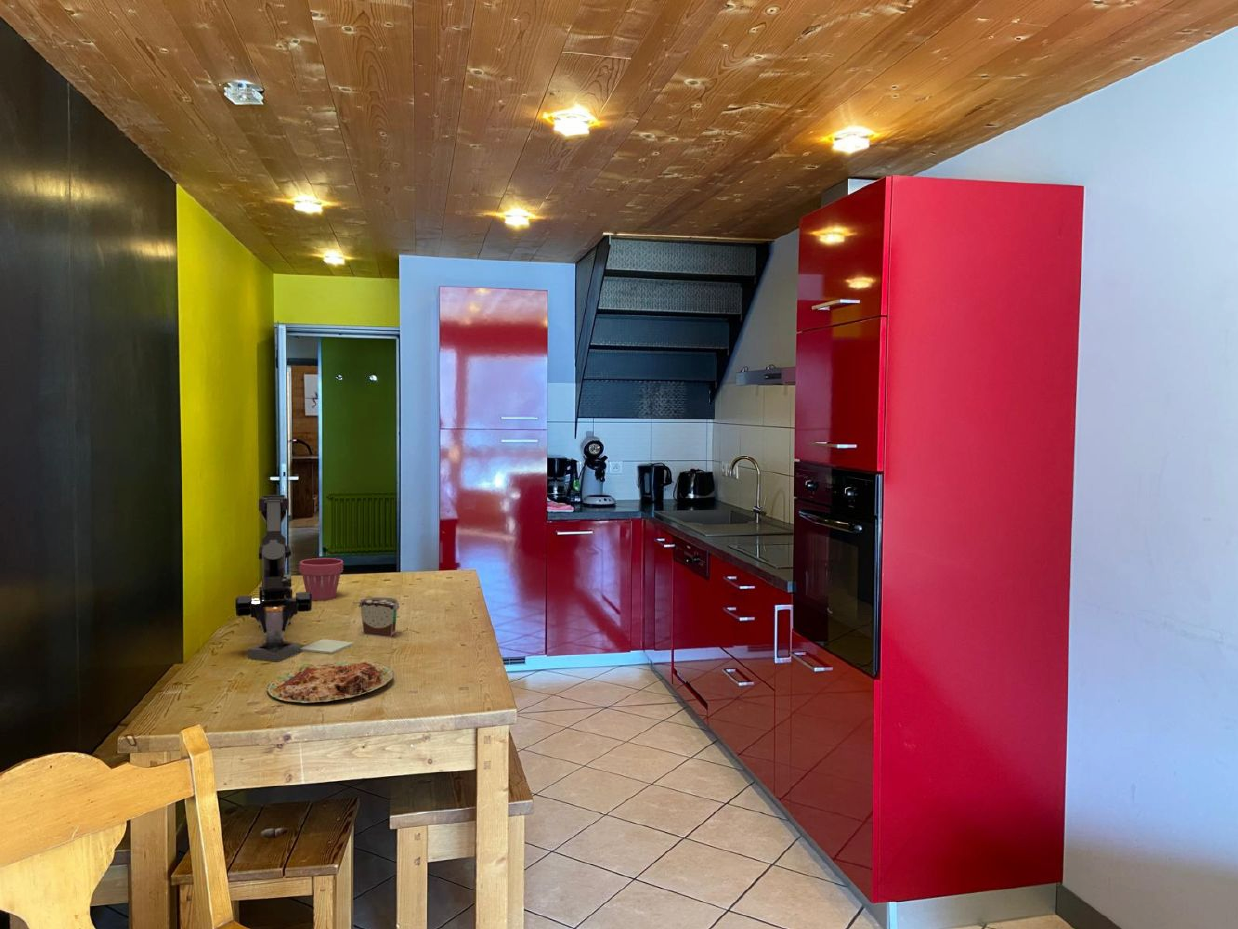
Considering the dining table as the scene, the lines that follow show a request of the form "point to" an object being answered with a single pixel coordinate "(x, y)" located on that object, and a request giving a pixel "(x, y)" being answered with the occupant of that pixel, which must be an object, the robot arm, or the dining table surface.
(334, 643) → the rest pad
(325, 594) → the plant pot
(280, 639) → the steel peg
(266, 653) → the block
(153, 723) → the dining table surface
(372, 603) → the food container
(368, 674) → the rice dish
